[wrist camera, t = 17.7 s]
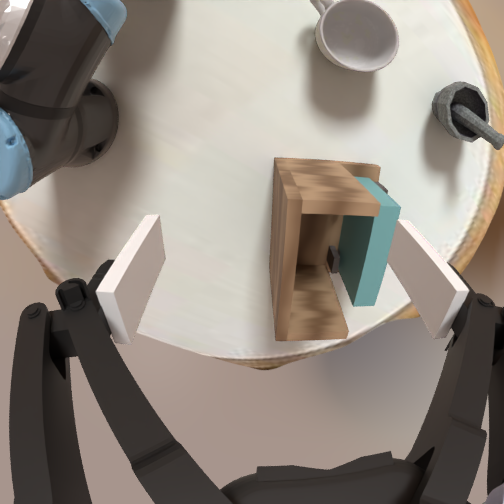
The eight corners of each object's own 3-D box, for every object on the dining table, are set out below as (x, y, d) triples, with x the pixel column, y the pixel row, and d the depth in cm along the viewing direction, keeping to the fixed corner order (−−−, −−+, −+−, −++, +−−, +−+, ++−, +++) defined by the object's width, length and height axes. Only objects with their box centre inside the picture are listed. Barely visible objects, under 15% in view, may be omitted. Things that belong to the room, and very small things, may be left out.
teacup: (388, 57, 36) (413, 54, 29) (334, 85, 39) (351, 85, 32) (340, -15, 30) (356, -31, 23) (282, 11, 33) (288, -3, 26)
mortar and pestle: (414, 102, 39) (456, 112, 29) (443, 69, 35) (487, 72, 25) (449, 149, 43) (491, 169, 32) (476, 116, 39) (519, 131, 29)
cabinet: (269, 267, 55) (275, 340, 40) (274, 157, 45) (287, 199, 29) (357, 267, 55) (389, 335, 40) (377, 164, 45) (432, 208, 30)
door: (335, 262, 53) (352, 306, 43) (348, 176, 45) (376, 205, 34) (360, 262, 53) (382, 305, 43) (376, 178, 45) (410, 207, 34)
